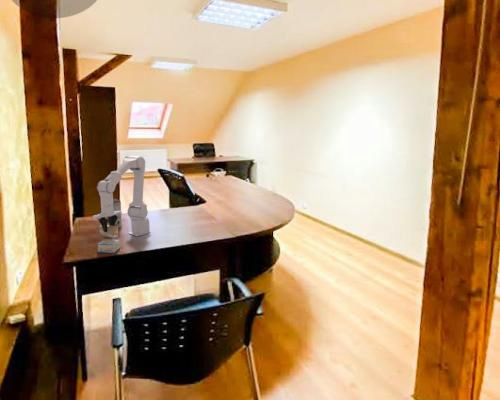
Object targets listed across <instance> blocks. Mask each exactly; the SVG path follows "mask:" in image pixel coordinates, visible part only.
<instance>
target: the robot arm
mask: <svg viewBox="0 0 500 400" xmlns="http://www.w3.org/2000/svg"><path fill="white" fill-rule="evenodd" d="M128 170H130V171H132V173H133V189H132V191H133V193H132V201H131V202H130V203H129V204H128V209H127V216H128V217H129V219H130V220H131V221H130V222H131V231H129V232H128V234H130V235H132V236H135V237H139V236H142V235H147V234H151V230H150V220H149V218H148V217H147V216H148V213H149V211H148V205H147V204H146V203H145V202H144V199H143V198H144V182H145V181H144V179H145V171H146V160H145V158H144V157H143V156H134V155H125V156H124V158H122V163H121V164H120V166H119V167H118V168H117V169H116V170H113V171H110V174H108V175H107V177H105V178H104V179H103V180H100V181H98V183H97V186H96V189H97V191H98V196H99V197H100V208H101V209H100V213H98V214H95V215H92V220H93V221H97V220H98V222H99V224H100V225H102V228H103V231H104V232H107V222H108V220H107V219H106V218H107V217H108V219H109V223H110V225H111V226H115V223H116V221H117V219H118V217H117V216H116V215H121V216H122V215H123V212H122V210H121V211H114V209H113V199H114V193H113V192H115V190H116V187H117V185H118V183H119V182H120V181H121V180H122V176H123V175H124V174H126V172H127V171H128Z"/></svg>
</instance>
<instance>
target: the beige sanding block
mask: <svg viewBox="0 0 500 400" xmlns="http://www.w3.org/2000/svg"><path fill="white" fill-rule="evenodd" d="M98 226H99V227H98V228H99V235H100V236H103V237H108V238H111V239H115V238H117V237H120V235H119V227H117V226H111V225H107V232H104V231H103V228H102V225H101V224H100V225H98Z"/></svg>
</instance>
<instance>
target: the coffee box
mask: <svg viewBox="0 0 500 400" xmlns="http://www.w3.org/2000/svg"><path fill="white" fill-rule="evenodd" d="M113 209H114V211H122V203H121V200H119V199H117V198H113ZM116 216H117V217H118V219H117V221H116V223H115V226H117V227H118V228H122V226H123V225H122V215H116ZM106 219H107V220H108V222H107V225H110V223H109V219H108V217H107V218H106Z"/></svg>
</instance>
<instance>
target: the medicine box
mask: <svg viewBox="0 0 500 400" xmlns="http://www.w3.org/2000/svg"><path fill="white" fill-rule="evenodd" d="M120 248H121V239H119V238H117V239H116V238H103V240H101V241H100V242H99V243H97V253H107V254H114V253H116V252H117V251H118V250H119V249H120Z"/></svg>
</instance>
